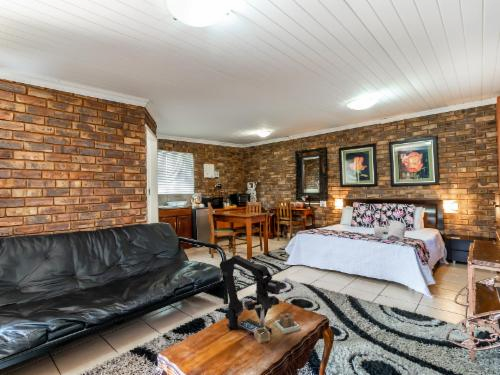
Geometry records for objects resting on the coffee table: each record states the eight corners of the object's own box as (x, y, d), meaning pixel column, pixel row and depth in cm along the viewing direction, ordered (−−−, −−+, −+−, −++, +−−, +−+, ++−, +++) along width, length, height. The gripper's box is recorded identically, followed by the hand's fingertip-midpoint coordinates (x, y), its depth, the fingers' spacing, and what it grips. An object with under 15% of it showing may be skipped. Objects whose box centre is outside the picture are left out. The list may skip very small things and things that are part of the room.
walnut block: (279, 325, 160) (279, 315, 160) (288, 322, 162) (288, 313, 162) (285, 330, 154) (284, 319, 154) (293, 327, 157) (293, 317, 157)
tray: (274, 325, 161) (274, 321, 161) (289, 321, 165) (289, 317, 165) (283, 334, 151) (283, 329, 151) (299, 329, 156) (299, 325, 156)
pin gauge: (258, 324, 148) (258, 305, 148) (263, 322, 149) (262, 304, 149) (260, 326, 145) (260, 308, 145) (265, 325, 147) (265, 307, 146)
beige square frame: (254, 336, 149) (254, 329, 149) (264, 334, 152) (264, 327, 152) (259, 343, 143) (259, 335, 143) (270, 340, 146) (270, 332, 146)
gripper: (251, 298, 136) (252, 329, 136) (284, 292, 143) (284, 321, 144) (243, 290, 146) (243, 319, 146) (274, 285, 154) (274, 312, 154)
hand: (261, 318), depth 147 cm, fingers closed on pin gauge, 3 cm apart
